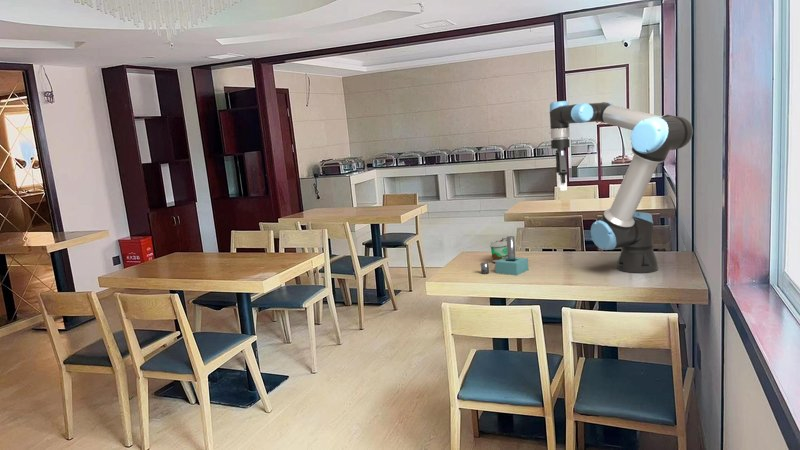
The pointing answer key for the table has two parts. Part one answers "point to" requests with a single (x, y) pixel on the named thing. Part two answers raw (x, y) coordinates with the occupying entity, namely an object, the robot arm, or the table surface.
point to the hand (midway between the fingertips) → (561, 189)
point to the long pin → (511, 248)
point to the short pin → (484, 268)
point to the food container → (499, 249)
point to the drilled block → (511, 266)
